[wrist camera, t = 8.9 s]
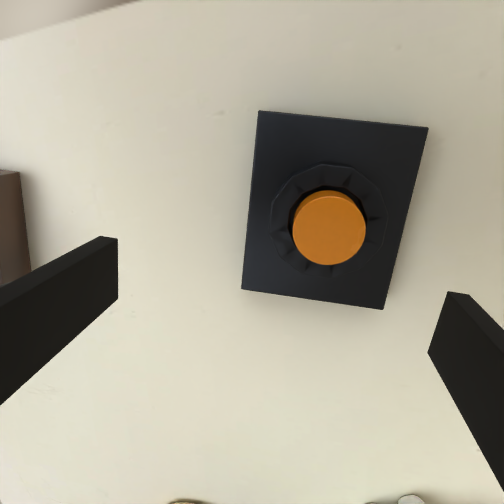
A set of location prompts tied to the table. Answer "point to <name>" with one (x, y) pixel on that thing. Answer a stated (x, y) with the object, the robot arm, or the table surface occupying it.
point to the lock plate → (12, 229)
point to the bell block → (337, 179)
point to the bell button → (328, 227)
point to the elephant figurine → (409, 500)
